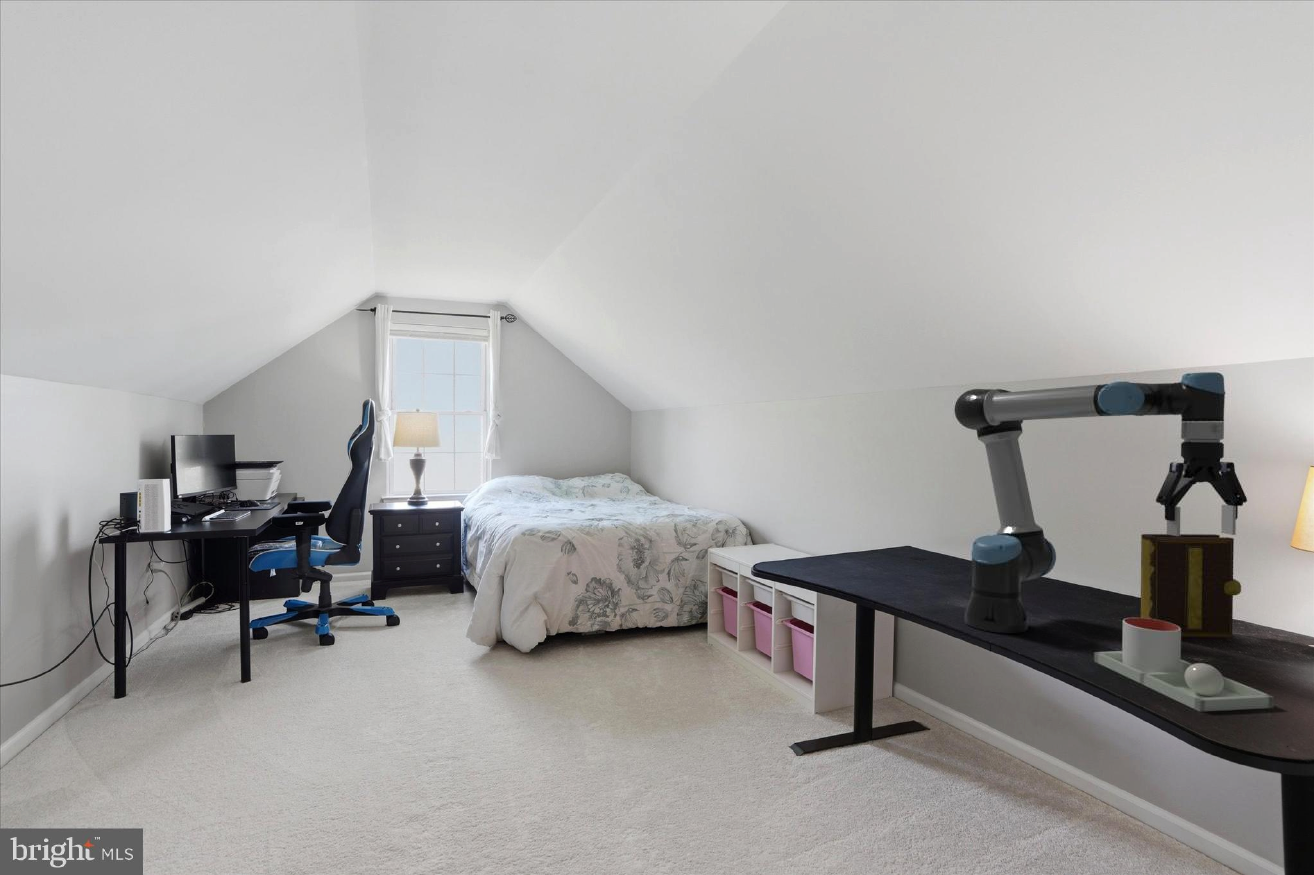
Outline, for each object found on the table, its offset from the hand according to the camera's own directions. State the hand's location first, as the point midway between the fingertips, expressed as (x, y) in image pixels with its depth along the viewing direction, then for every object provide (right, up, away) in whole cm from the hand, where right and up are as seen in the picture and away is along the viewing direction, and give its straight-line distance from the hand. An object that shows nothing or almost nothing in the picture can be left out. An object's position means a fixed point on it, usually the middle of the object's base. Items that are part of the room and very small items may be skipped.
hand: (1200, 534), depth 152 cm
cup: (-18, -28, -9) cm, 34 cm away
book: (+13, -28, +20) cm, 37 cm away
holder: (-17, -29, -15) cm, 37 cm away
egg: (-17, -28, -21) cm, 39 cm away
